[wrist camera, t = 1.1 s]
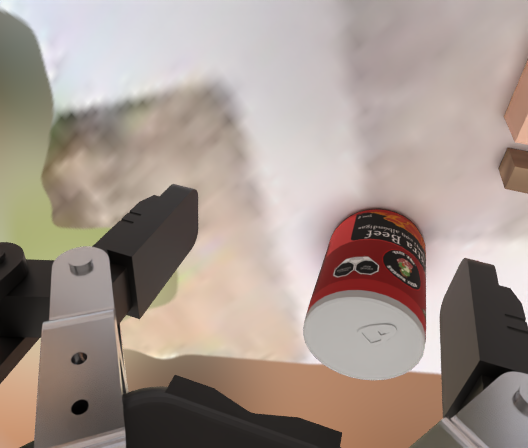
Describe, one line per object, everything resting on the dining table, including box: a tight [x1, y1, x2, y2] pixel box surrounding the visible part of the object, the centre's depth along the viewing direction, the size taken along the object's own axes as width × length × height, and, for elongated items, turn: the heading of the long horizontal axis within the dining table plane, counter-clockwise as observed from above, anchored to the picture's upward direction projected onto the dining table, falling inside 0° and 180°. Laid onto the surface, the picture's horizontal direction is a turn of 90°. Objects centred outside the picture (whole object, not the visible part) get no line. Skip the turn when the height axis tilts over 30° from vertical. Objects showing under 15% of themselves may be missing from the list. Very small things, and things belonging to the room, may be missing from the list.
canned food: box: [303, 209, 426, 380], centre depth 32 cm, size 8×8×11 cm
